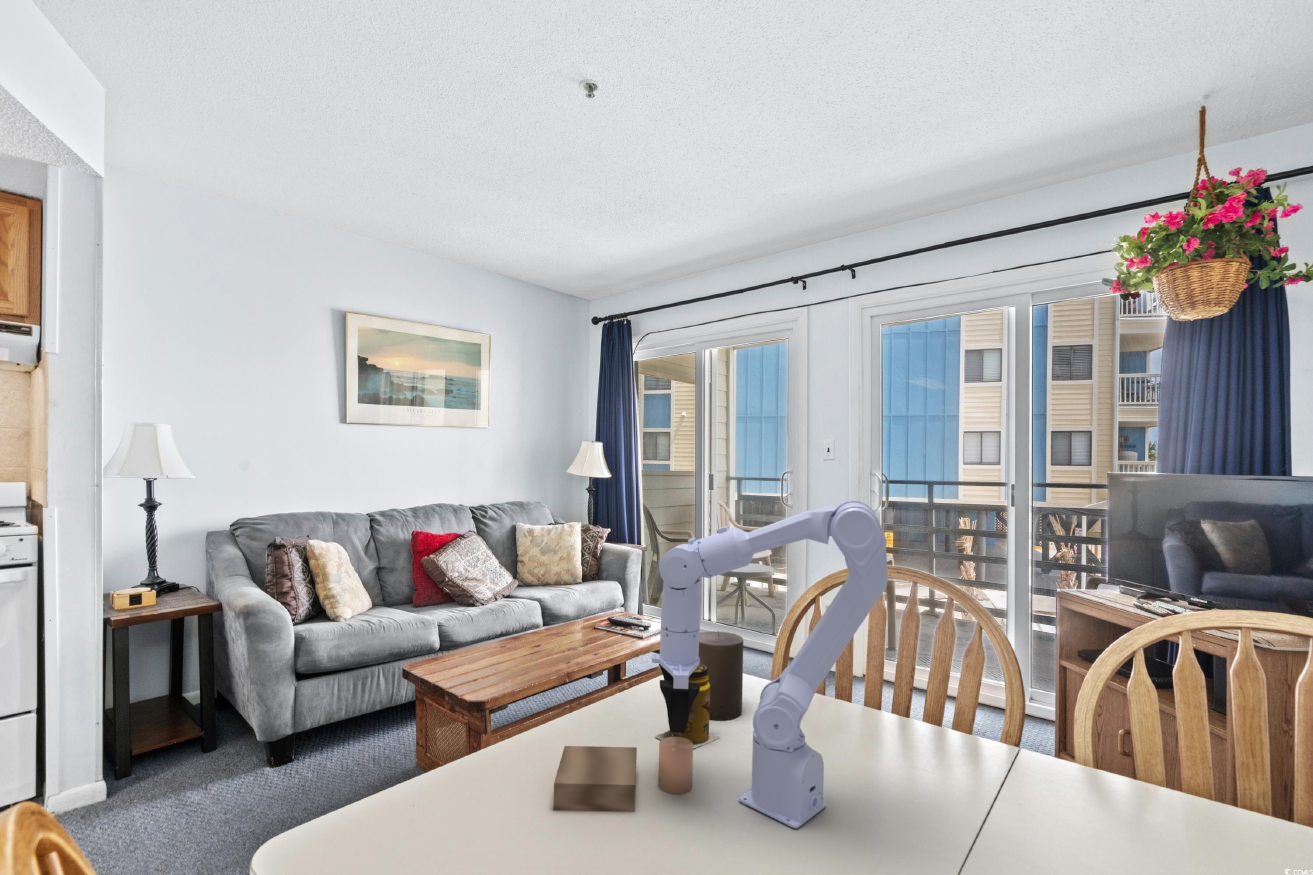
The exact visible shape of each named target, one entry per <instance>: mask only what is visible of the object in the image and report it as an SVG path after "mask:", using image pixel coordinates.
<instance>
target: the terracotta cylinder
mask: <svg viewBox="0 0 1313 875" xmlns="http://www.w3.org/2000/svg"><path fill="white" fill-rule="evenodd" d="M693 762H694V749H693V743H692V742H691V741H690V740H688V739H686V738H682V737H668V738H664V739H662V740H660V741H659V742H658V771H657V773H658V776H657V777H658V778H657V783H658V784H657V785H658V786H657V787H658V789H659V790H660V791H662V792H663V793H665V794H668V795H673V796H675V795H676V796H677V795H680V796H681V795H684V794H687V793H689V792H690V791H691V790H692V789H693V775H694V774H693V771H694V767H693V766H694V763H693Z"/></svg>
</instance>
